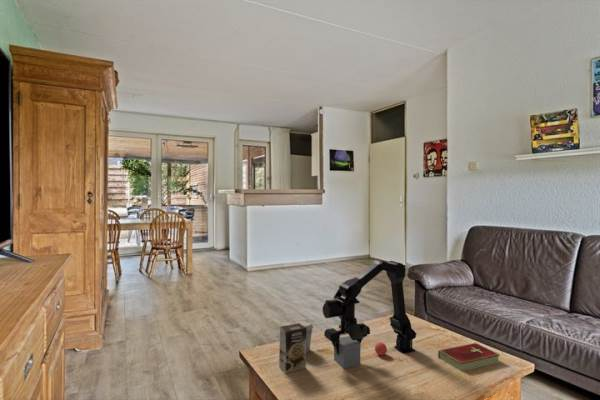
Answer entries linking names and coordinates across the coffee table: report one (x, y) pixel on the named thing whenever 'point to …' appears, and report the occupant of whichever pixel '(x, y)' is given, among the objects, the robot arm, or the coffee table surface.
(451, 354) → the hardcover book
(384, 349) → the ball
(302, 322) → the coffee cup
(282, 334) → the coffee box
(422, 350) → the coffee table surface
